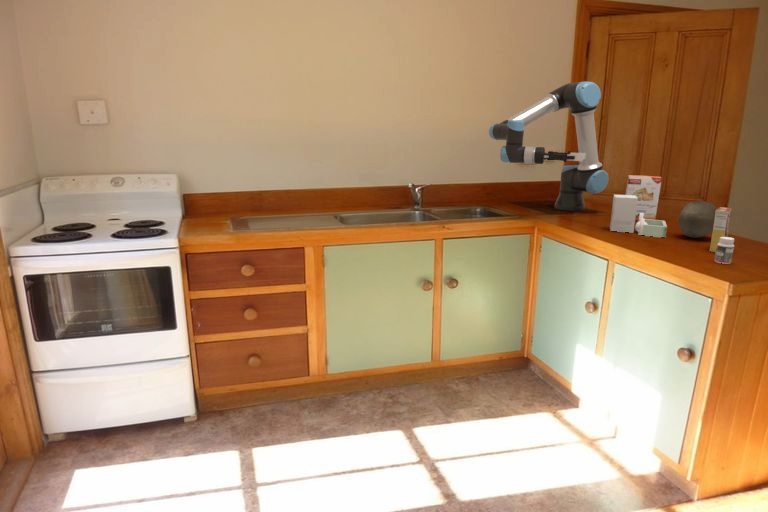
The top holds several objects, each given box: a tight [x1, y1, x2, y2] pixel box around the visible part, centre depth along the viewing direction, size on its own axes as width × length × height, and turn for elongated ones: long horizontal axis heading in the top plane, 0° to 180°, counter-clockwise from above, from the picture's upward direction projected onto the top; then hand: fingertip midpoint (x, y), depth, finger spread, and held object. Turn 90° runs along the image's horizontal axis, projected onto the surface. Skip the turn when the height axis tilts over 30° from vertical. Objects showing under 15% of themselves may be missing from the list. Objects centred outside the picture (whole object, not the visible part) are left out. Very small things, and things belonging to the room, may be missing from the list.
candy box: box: [709, 206, 733, 253], centre depth 183 cm, size 9×4×15 cm, turn 140°
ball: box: [634, 221, 648, 233], centre depth 213 cm, size 5×5×5 cm
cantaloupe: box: [678, 200, 718, 239], centre depth 202 cm, size 14×14×15 cm
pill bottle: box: [714, 236, 735, 265], centre depth 168 cm, size 5×5×8 cm
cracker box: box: [625, 174, 663, 222], centre depth 239 cm, size 14×6×21 cm, turn 68°
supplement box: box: [609, 193, 638, 234], centre depth 216 cm, size 9×9×15 cm
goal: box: [637, 213, 668, 239], centre depth 212 cm, size 16×10×7 cm, turn 155°
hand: (584, 157), depth 224 cm, fingers open, 13 cm apart
